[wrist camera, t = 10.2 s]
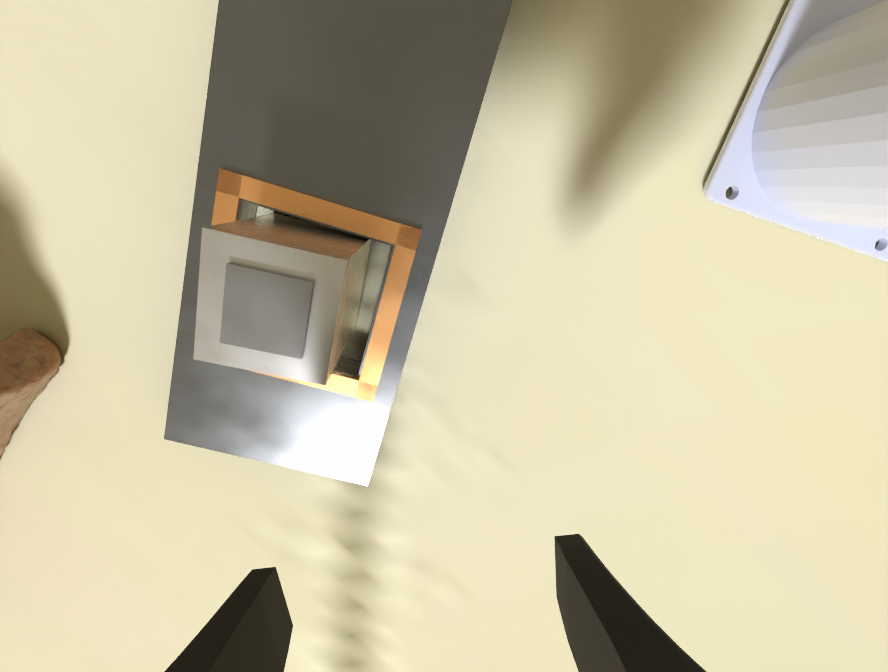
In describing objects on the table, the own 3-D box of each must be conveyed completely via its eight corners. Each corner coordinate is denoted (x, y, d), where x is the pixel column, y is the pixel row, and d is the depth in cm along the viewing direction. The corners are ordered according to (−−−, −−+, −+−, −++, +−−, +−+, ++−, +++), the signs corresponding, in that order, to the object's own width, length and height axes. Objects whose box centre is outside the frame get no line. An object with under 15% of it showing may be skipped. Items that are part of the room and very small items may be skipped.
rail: (625, -391, 13) (653, -472, 11) (371, 466, 22) (367, 488, 20) (315, -550, 12) (297, -664, 10) (182, 421, 21) (161, 441, 19)
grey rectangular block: (372, 236, 18) (345, 261, 13) (355, 327, 20) (324, 388, 14) (273, 213, 18) (198, 228, 12) (262, 307, 19) (190, 361, 13)
